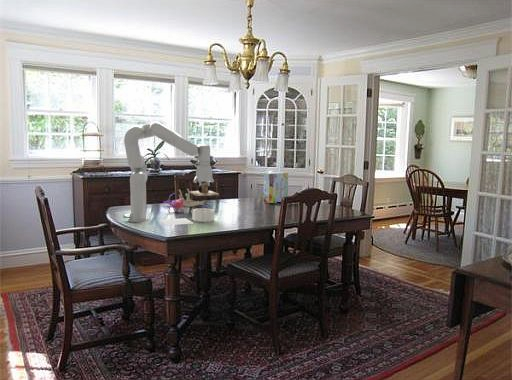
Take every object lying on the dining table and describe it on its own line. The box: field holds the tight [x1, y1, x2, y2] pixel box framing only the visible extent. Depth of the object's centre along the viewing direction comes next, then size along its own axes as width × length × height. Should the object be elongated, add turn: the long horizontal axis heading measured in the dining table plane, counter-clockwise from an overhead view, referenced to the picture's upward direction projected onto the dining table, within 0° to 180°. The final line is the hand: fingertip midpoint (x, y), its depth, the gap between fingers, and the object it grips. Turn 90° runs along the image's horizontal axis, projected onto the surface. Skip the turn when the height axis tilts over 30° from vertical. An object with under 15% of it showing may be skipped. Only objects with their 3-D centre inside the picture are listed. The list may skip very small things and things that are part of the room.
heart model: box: [162, 192, 184, 214], centre depth 307 cm, size 15×9×18 cm
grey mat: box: [159, 217, 195, 226], centre depth 272 cm, size 18×18×1 cm
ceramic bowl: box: [191, 207, 215, 223], centre depth 280 cm, size 13×13×7 cm
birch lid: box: [189, 183, 220, 197], centre depth 278 cm, size 15×15×6 cm
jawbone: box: [178, 187, 206, 208], centre depth 333 cm, size 25×10×14 cm, turn 51°
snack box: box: [262, 171, 289, 204], centre depth 366 cm, size 22×9×26 cm, turn 130°
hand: (203, 191), depth 278 cm, fingers closed on birch lid, 4 cm apart
